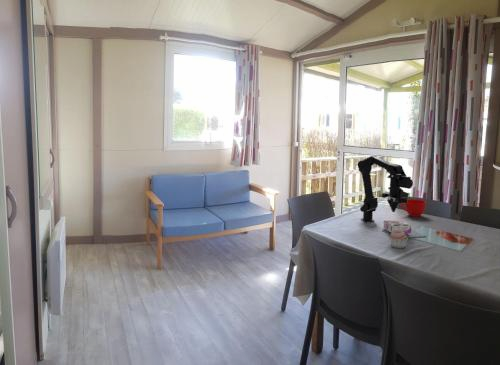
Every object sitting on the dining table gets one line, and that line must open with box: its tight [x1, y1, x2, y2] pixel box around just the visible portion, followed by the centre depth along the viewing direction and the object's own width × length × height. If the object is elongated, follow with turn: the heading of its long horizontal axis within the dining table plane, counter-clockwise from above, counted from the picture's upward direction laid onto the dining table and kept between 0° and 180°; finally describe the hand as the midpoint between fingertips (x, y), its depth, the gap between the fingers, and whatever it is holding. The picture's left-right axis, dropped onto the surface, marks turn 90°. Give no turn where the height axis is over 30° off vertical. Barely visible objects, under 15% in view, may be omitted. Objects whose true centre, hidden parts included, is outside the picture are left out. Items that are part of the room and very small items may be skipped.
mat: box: [381, 228, 427, 239], centre depth 224 cm, size 16×18×1 cm
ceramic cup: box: [400, 198, 427, 218], centre depth 265 cm, size 13×17×10 cm
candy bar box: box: [383, 220, 412, 233], centre depth 225 cm, size 11×5×16 cm
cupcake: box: [388, 228, 409, 249], centre depth 201 cm, size 9×9×10 cm
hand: (393, 211), depth 234 cm, fingers closed
